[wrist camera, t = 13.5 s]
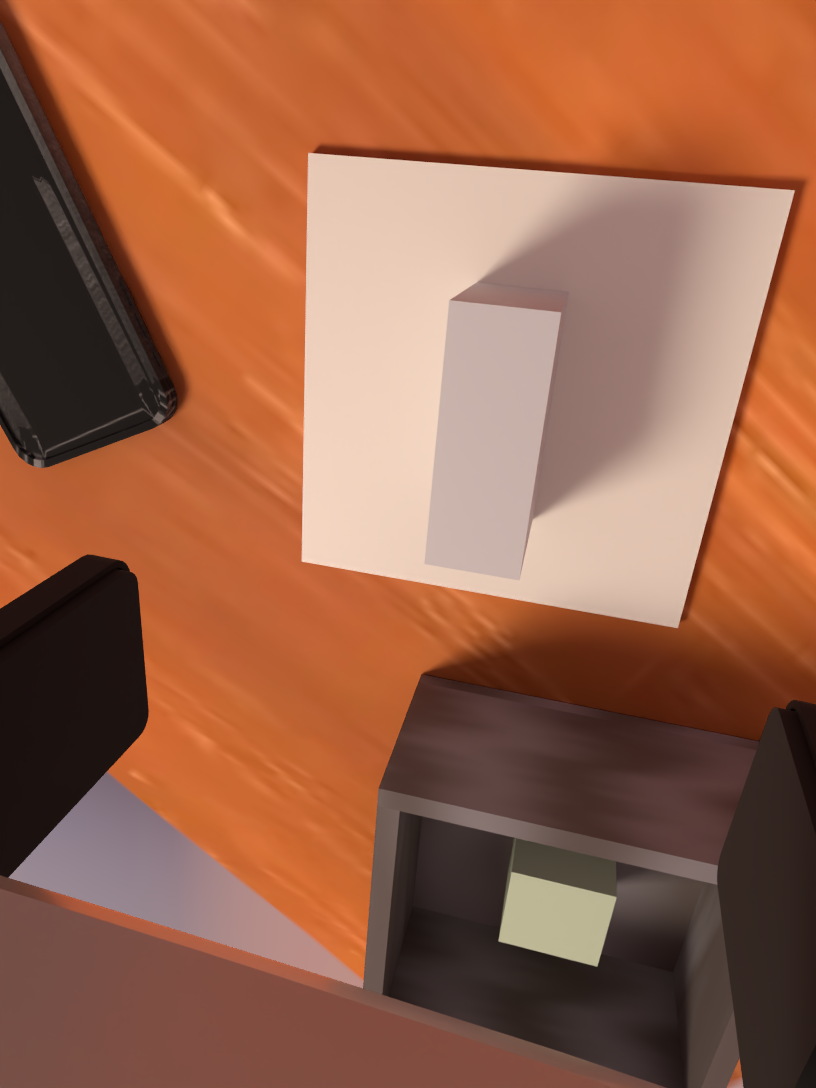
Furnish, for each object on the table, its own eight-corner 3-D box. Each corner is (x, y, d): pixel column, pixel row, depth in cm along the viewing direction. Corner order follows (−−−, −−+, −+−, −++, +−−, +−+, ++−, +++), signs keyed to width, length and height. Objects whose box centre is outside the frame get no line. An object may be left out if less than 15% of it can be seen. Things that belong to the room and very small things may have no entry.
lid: (787, 190, 23) (844, 187, 17) (675, 615, 29) (691, 708, 24) (318, 154, 25) (242, 142, 20) (310, 551, 32) (251, 622, 26)
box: (769, 743, 30) (814, 887, 23) (685, 976, 36) (703, 1140, 29) (421, 674, 32) (378, 788, 26) (398, 903, 38) (358, 1040, 32)
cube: (615, 820, 32) (616, 897, 29) (597, 886, 34) (597, 966, 30) (521, 799, 33) (511, 871, 29) (508, 865, 34) (498, 941, 31)
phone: (28, 474, 32) (-188, 90, 27) (45, 465, 33) (-160, 94, 28) (180, 418, 29) (-30, -20, 24) (194, 411, 30) (-5, -11, 25)
